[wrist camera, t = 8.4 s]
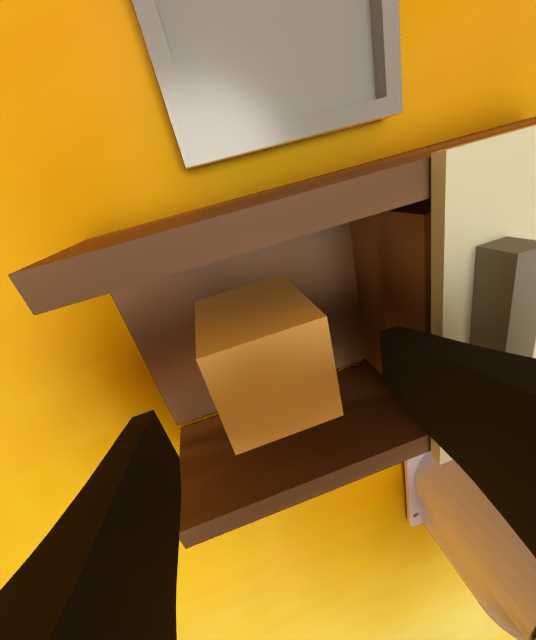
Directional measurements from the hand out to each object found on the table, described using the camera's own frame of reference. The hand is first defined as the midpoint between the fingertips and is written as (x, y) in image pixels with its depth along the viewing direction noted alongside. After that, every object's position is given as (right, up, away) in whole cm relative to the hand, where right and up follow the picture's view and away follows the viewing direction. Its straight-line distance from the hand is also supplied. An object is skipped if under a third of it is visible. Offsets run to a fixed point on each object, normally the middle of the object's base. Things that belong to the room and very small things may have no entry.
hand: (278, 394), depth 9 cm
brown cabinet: (+3, +3, +6) cm, 7 cm away
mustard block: (-1, +2, +5) cm, 5 cm away
